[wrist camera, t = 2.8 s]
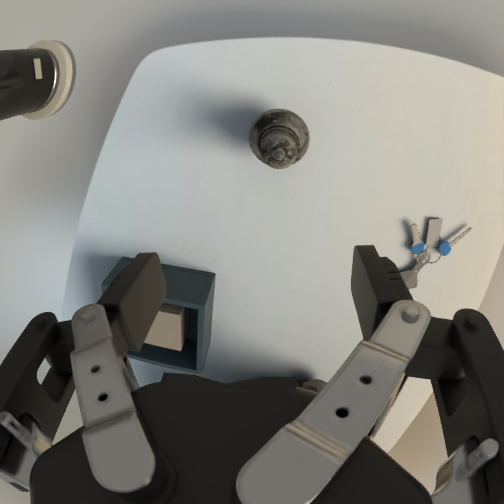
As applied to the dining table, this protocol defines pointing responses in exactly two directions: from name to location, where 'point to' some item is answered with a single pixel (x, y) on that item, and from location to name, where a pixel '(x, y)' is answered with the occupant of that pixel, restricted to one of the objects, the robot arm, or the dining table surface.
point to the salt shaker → (279, 138)
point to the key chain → (418, 246)
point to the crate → (200, 317)
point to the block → (169, 327)
